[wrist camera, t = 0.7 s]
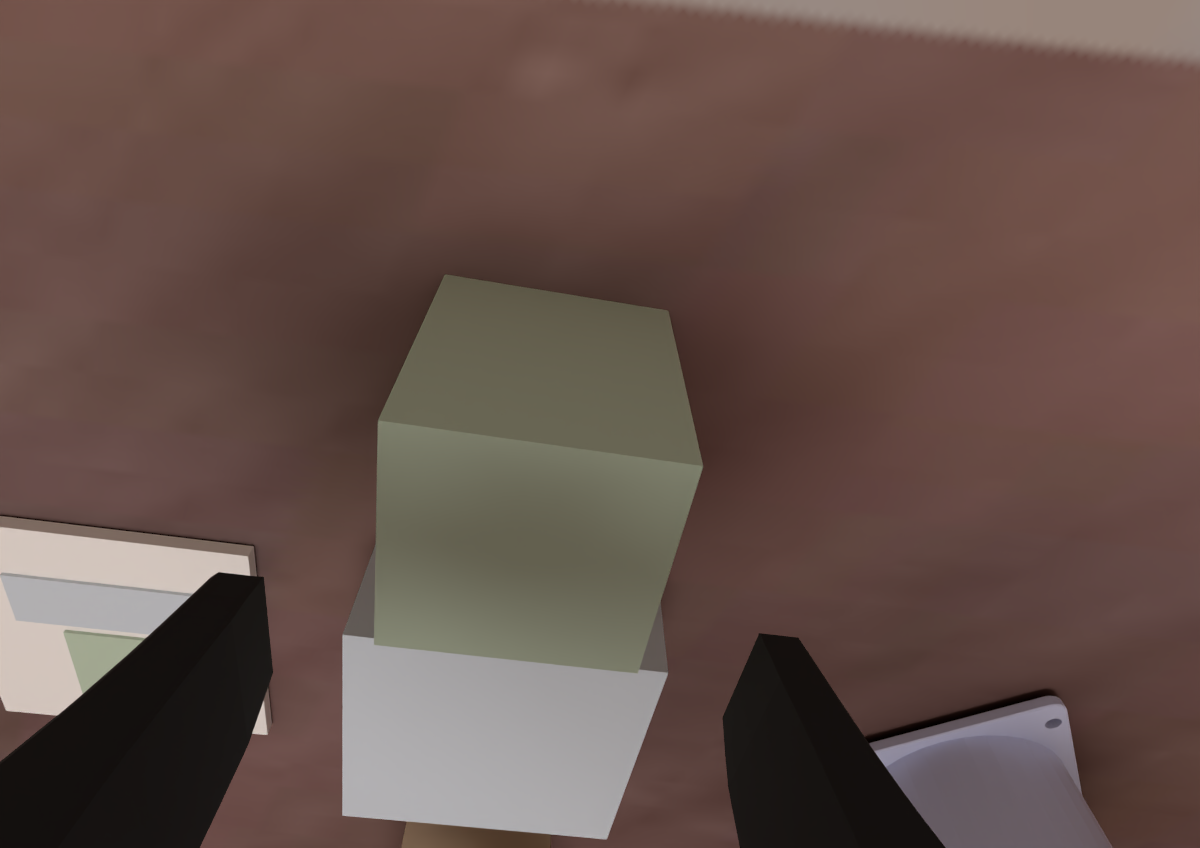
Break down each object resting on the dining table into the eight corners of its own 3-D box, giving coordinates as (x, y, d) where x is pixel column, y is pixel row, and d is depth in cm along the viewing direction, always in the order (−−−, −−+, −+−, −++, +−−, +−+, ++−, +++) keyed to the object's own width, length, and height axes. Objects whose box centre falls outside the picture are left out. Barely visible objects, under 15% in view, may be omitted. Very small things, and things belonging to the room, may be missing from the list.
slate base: (657, 573, 21) (668, 673, 18) (604, 737, 25) (606, 839, 22) (378, 536, 20) (342, 634, 17) (372, 712, 25) (342, 815, 22)
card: (253, 546, 20) (246, 558, 20) (272, 723, 24) (266, 737, 24) (-62, 508, 19) (-77, 521, 19) (14, 699, 23) (4, 713, 23)
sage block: (668, 309, 16) (703, 466, 11) (625, 483, 19) (637, 673, 14) (445, 273, 16) (377, 419, 11) (432, 457, 19) (373, 644, 13)
